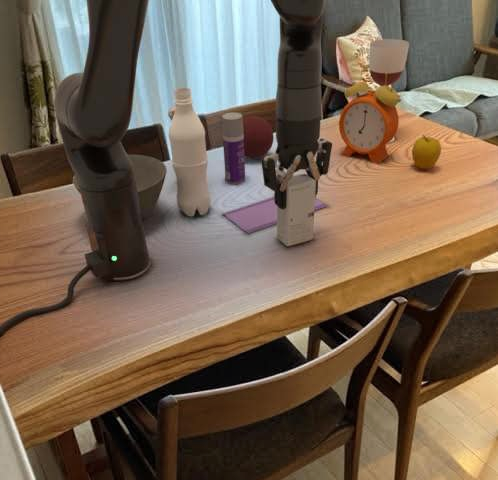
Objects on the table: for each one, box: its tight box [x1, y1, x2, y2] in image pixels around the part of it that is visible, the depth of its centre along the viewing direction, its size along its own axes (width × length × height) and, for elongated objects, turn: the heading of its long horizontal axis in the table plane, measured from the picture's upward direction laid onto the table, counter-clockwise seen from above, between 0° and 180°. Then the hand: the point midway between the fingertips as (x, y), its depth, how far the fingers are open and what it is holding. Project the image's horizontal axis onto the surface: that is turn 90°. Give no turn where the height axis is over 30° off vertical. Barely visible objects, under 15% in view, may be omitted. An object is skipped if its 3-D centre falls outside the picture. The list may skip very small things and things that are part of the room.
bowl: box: [72, 154, 167, 219], centre depth 112 cm, size 19×19×10 cm
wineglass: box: [368, 38, 410, 144], centre depth 138 cm, size 9×10×23 cm
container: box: [221, 112, 246, 185], centre depth 122 cm, size 5×5×15 cm
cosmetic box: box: [276, 173, 316, 247], centre depth 101 cm, size 6×4×12 cm
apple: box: [411, 134, 442, 170], centre depth 127 cm, size 6×6×8 cm
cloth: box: [222, 196, 328, 235], centre depth 115 cm, size 20×10×1 cm, turn 122°
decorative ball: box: [242, 115, 274, 159], centre depth 134 cm, size 10×10×10 cm
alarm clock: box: [338, 68, 400, 164], centre depth 130 cm, size 13×6×20 cm, turn 53°
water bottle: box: [168, 86, 212, 217], centre depth 108 cm, size 7×7×25 cm
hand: (296, 202), depth 101 cm, fingers closed on cosmetic box, 6 cm apart
